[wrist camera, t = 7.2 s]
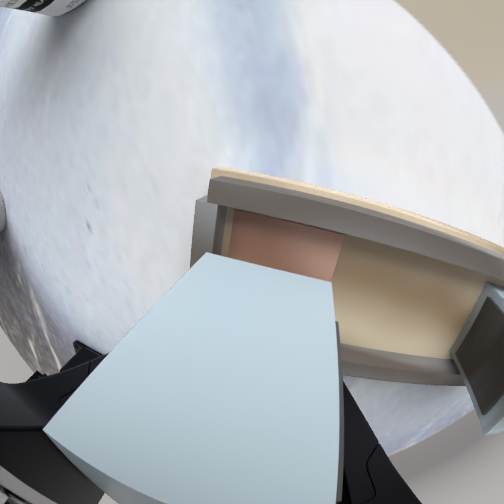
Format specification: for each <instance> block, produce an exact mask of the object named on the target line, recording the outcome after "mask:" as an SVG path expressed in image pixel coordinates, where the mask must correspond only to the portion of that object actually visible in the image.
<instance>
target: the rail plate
mask: <svg viewBox="0 0 504 504" xmlns="http://www.w3.org/2000/svg"><path fill="white" fill-rule="evenodd" d="M206 252H208V253H212V254H216V255H220V256H224V257H228V258H232V259H236V260H240V261H244V262H248V263H253V264H257V265H261V266H265V267H269V268H273V269H278V270H282V271H286V272H290V273H294V274H299V275H303V276H307V277H311V278H316V279H320V280H324V281H328V282H332V291H333V301H334V312H335V321H338V323H339V333H340V345H341V359H342V375H348V376H354V377H361V378H368V379H375V380H383V381H392V382H402V383H413V384H427V385H448V386H466V387H467V390H468V392H469V394H470V397H471V399H472V402H473V405H474V407H475V410H476V412H477V415H478V418H479V421H480V424H481V426H482V429H483V433H484V435H490V434H494V433H499V432H502V431H504V248H503V247H501V246H499V245H496V244H494V243H492V242H489V241H487V240H485V239H482V238H480V237H477V236H475V235H472V234H470V233H467V232H465V231H462V230H460V229H457V228H454V227H452V226H449V225H446V224H444V223H441V222H438V221H435V220H432V219H430V218H427V217H424V216H421V215H418V214H415V213H412V212H409V211H406V210H403V209H399V208H396V207H393V206H390V205H386V204H383V203H380V202H376V201H373V200H369V199H366V198H362V197H359V196H355V195H351V194H348V193H344V192H340V191H336V190H332V189H328V188H324V187H320V186H316V185H312V184H307V183H303V182H298V181H294V180H289V179H285V178H280V177H275V176H270V175H265V174H260V173H254V172H249V171H244V170H238V169H232V168H226V167H219V168H214V169H212V173H211V179H210V182H209V189H208V195H207V196H204V197H202V198H200V199H198V200H196V206H195V215H194V226H193V236H192V248H191V261H190V268H191V267H192V266H193V265H194V264H195V263H196V262H197V261H198V260H199V259H200V258H201V257H202V256H203V255H204V254H205V253H206Z"/></svg>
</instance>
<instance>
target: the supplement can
mask: <svg viewBox="0 0 504 504" xmlns="http://www.w3.org/2000/svg"><path fill="white" fill-rule="evenodd" d="M84 1H85V0H0V7H5V8H12V9H19V10H25V11H30V12H35V13H39V14H44V15H48V16H52V17H54V16H61V15H62V14H64V13H66V12H69V11H71V10H72V9H74V8H76V7H78V6H79V5H80V4H82V3H83V2H84Z"/></svg>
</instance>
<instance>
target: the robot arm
mask: <svg viewBox="0 0 504 504" xmlns="http://www.w3.org/2000/svg"><path fill="white" fill-rule="evenodd" d="M73 345H74V348H75V352H76V354H75V355H74V356H73V357H72V358H71V359H70V360H69V361H68V362H67V363H66V364H65V365H64V366H63V367H62V368H61V369H60V372H59V373H56V374H53V375H49V376H47V375H46V374H45V373H44V374H43V375H42V374H41V373H40V372H38V371H36V372H35V373H34V374H33V375H32V376H31V377H30V378H29V379H28V380H27V381H26V382H23V383H18V384H8V383H2V382H0V504H98V503H99V501H100V499H101V498H102V496H103V495H104V493H105V492H104V491H102V490H101V489H100V488H99V487H98V486H96V485H95V484H94V483H93V482H92V481H91V480H90V479H89V478H88V477H86V476H85V475H84V474H83V473H82V472H81V471H80V470H79V469H78V468H77V467H76V466H75V465H74V464H73V463H72V462H71V461H70V460H69V459H68V458H67V457H66V456H65V455H64V454H63V453H62V451H61V450H60V449H59V448H58V447H57V446H56V445H55V444H54V443H53V441H52V440H51V439H50V438H49V437H48V435H47V434H46V433H45V432H44V431H43V429H44V427H45V426H46V425H47V424H48V423H49V421H50V420H51V419H52V418H53V417H54V415H55V414H56V413H57V412H58V411H59V410H60V408H61V407H62V406H63V405H64V404H65V402H66V401H67V400H68V399H69V398H70V397H71V396H72V394H73V393H74V392H75V391H76V390H77V389H78V388H79V386H80V385H81V384H82V383H83V382H84V381H85V380H86V378H87V377H88V376H89V375H90V374H91V373H92V372H93V371H94V370H95V368H96V367H97V366H98V365H99V364H100V363H101V362H102V361H103V360H104V358H105V357H106V356H107V355H108V354H109V353H107V354H105V355H102V354H100V353H99V352H97V351H95V350H93V349H91V348H89V347H88V346H86V345H84V344H82V343H81V342H79V341H77V340H76V341H74V342H73ZM343 399H344V464H343V485H342V500H341V502H339V503H337V504H422V503H421V502H420V501H419V500H418V498H417V497H416V496H415V494H414V493H413V492H412V490H411V489H410V488H409V486H408V485H407V484H406V482H405V481H404V480H403V478H402V477H401V476H400V475H399V473H398V472H397V470H396V469H395V467H394V466H393V465H392V463H391V461H390V460H389V458H388V456H387V455H386V453H385V451H384V450H383V448H382V446H381V445H380V444H378V443H379V441H378V440H377V438H376V436H375V434H374V433H373V431H372V429H371V427H370V426H369V424H368V422H367V421H366V419H365V417H364V415H363V414H362V412H361V410H360V409H359V407H358V405H357V404H356V402H355V400H354V398H353V397H352V395H351V393H350V392H349V390H348V388H347V387H346V385H345V383H344V381H343Z"/></svg>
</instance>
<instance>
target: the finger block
mask: <svg viewBox="0 0 504 504" xmlns="http://www.w3.org/2000/svg"><path fill="white" fill-rule="evenodd" d="M43 431H44V432H45V433H46V434H47V435H48V437H49V438H50V439H51V440H52V441H53V443H54V444H55V445H56V446H57V447H58V448H59V449H60V450H61V451H62V453H63V454H64V455H65V456H66V457H67V458H68V459H69V460H70V461H71V462H72V463H73V464H74V465H75V466H76V467H77V468H78V469H79V470H80V471H81V472H82V473H83V474H84V475H85V476H86V477H88V478H89V479H90V480H91V481H92V482H93V483H94V484H95V485H96V486H98V487H99V488H100V489H101V490H102V491H104V492H105V493H106V494H107V495H108V496H110V497H111V498H112V499H113V500H115V501H116V502H117V503H119V504H337V503H339V502H341V500H342V485H343V464H344V399H343V376H342V359H341V345H340V333H339V323H338V321H335V312H334V301H333V291H332V282H328V281H324V280H320V279H316V278H311V277H307V276H303V275H299V274H294V273H290V272H286V271H282V270H278V269H273V268H269V267H265V266H261V265H257V264H253V263H248V262H244V261H240V260H236V259H232V258H228V257H224V256H220V255H216V254H212V253H208V252H206V253H205V254H204V255H203V256H202V257H201V258H200V259H199V260H198V261H197V262H196V263H195V264H194V265H193V266H192V267H191V268H190V269H189V270H188V271H187V272H186V273H185V274H184V275H183V276H182V277H181V278H180V279H179V280H178V281H177V282H176V283H175V284H174V285H173V286H172V288H171V289H170V290H169V291H168V292H167V293H166V294H165V295H164V296H163V297H162V298H161V299H160V300H159V301H158V302H157V303H156V304H155V305H154V306H153V307H152V308H151V309H150V310H149V311H148V312H147V313H146V314H145V315H144V317H143V318H142V319H141V320H140V321H139V322H138V323H137V324H136V325H135V326H134V327H133V328H132V329H131V330H130V331H129V332H128V334H127V335H126V336H125V337H124V338H123V339H122V340H121V341H120V342H119V343H118V344H117V345H116V346H115V348H114V349H113V350H112V351H111V352H110V353H109V354H108V355H107V356H106V357H105V358H104V360H103V361H102V362H101V363H100V364H99V365H98V366H97V367H96V368H95V370H94V371H93V372H92V373H91V374H90V375H89V376H88V377H87V378H86V380H85V381H84V382H83V383H82V384H81V385H80V386H79V388H78V389H77V390H76V391H75V392H74V393H73V394H72V396H71V397H70V398H69V399H68V400H67V401H66V402H65V404H64V405H63V406H62V407H61V408H60V410H59V411H58V412H57V413H56V414H55V415H54V417H53V418H52V419H51V420H50V421H49V423H48V424H47V425H46V426H45V427H44V429H43Z"/></svg>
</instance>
